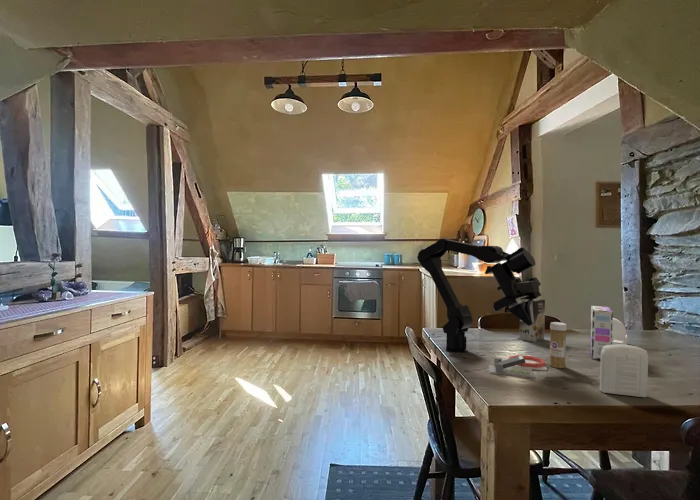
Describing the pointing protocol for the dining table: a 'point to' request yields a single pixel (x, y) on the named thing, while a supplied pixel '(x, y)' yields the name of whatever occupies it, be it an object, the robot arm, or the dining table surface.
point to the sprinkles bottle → (558, 344)
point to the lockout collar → (531, 363)
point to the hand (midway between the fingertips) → (530, 325)
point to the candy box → (600, 329)
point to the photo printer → (624, 370)
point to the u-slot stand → (618, 332)
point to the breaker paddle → (512, 361)
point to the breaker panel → (509, 370)
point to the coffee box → (534, 322)
